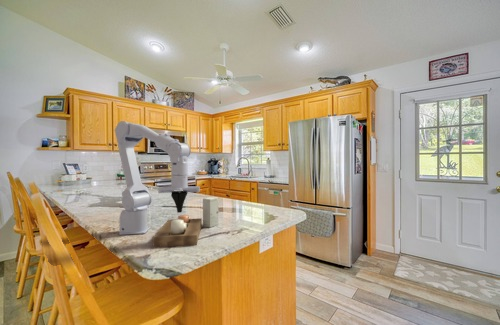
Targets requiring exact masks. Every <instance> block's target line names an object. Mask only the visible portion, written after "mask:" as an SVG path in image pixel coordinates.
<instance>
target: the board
mask: <svg viewBox="0 0 500 325" xmlns="http://www.w3.org/2000/svg"><path fill="white" fill-rule="evenodd" d="M173 220H178V218H177V219H172V218H171V219H167V220H166V222H165V223H164V224H163V225H162V226H161V227H160V228H159V230H157V232H156V234H155V235H154V236H153V237H152V247H153V248H158V247H159V248H162V247H176V246H177V247H178V246H179V247H180V246H192V245H193V246H195V245H197V244H198V240H199V238H200V237H199V236H200V234H201V229H202V227H203V217H202V218H200V217H199V218H189V223H186V226H187V228H184V232H183V233H180V234H172V233H171V221H173Z"/></svg>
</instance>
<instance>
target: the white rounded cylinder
mask: <svg viewBox="0 0 500 325" xmlns="http://www.w3.org/2000/svg"><path fill="white" fill-rule="evenodd" d="M177 219H178V218H177ZM183 232H184V220H181V219H178V220H173V221H171V233H172V234H180V233H183Z"/></svg>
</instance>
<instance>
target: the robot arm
mask: <svg viewBox="0 0 500 325" xmlns="http://www.w3.org/2000/svg"><path fill="white" fill-rule="evenodd" d="M114 133H115V137H116V141H117V149H118V152H119V157H120V161H121V166H122V170H123V174H124V180H125V183H126V184H125V185H126V187H125V189H124V190H122V192H121V197H122V199H121V205H122V207H123V210H121V212H120V215H119V233H118V235H121V236H123V235H140V234H141V235H142V234H145V233H147V232H148V231H149V230H150V229H151V226H148V209H149V206H150V205H151V203H152V200H153V198H152V194H151V193H150V192H149V188H148V187H147V186H146V185H144V184H143V183H142V179H141V173H140V169H139V166H138V160H137V157H136V153H135V147H136V146H137V145H138V144H140V143H141V141H142V140H143V139H144V138H145V139H147V140H149V141H152V142H154V143H155V146H156V147H157V148H158V149H160V150H161V151H164V152H165V153H167V154H168V157H169V160H170V167H171V168H170V169H171V170H170V172H171V173H170V174H171V175H170V177H171V178H170V180H171V182H170V183H171V184H170V186H159V187H158V188H157V192H158V194H165V193H168V194H169V193H170V194H171V195H170V196H171V198H172V200H173V202H174V205H175V207H176V212H177V213H180V214H181V213H182V212H183V208H184V203H185V200H186V197H187V195H188V193H200V191H201V186H199V185H198V186H196V185H195V186H194V185H193V186H192V185H191V186H189V185H188V183H189V182H188V174H189V173H188V171H189V170H188V166H189V165H188V158H189V157H190V155H191V147H190V145H189V144H188V143H185V142H180V140H179V139H178V138H173V137H171V135H170V134H169V133H160V134H159V133H157V132H155V131H154V130H153V129H151V128H150V127H148V126H147V125H143V124H140V123H133V122H129V121H125V120H121V121H119V122H118V123H117V125H116V126H115V128H114Z"/></svg>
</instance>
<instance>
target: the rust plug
mask: <svg viewBox="0 0 500 325" xmlns="http://www.w3.org/2000/svg"><path fill="white" fill-rule="evenodd" d="M189 217H190V215H189V214H180V215H178V217H177V219H181V220H184V223H189V219H190V218H189Z"/></svg>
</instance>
